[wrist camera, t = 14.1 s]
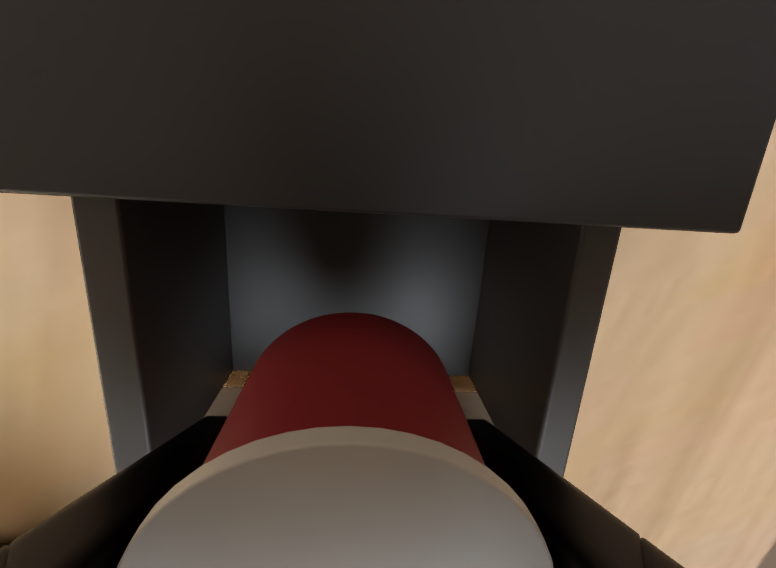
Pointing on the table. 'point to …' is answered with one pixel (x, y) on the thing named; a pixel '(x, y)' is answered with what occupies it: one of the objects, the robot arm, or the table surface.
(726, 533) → the table surface
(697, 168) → the dark brown storage box
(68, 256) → the table surface
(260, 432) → the coffee pod
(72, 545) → the robot arm
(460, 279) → the pod drawer
